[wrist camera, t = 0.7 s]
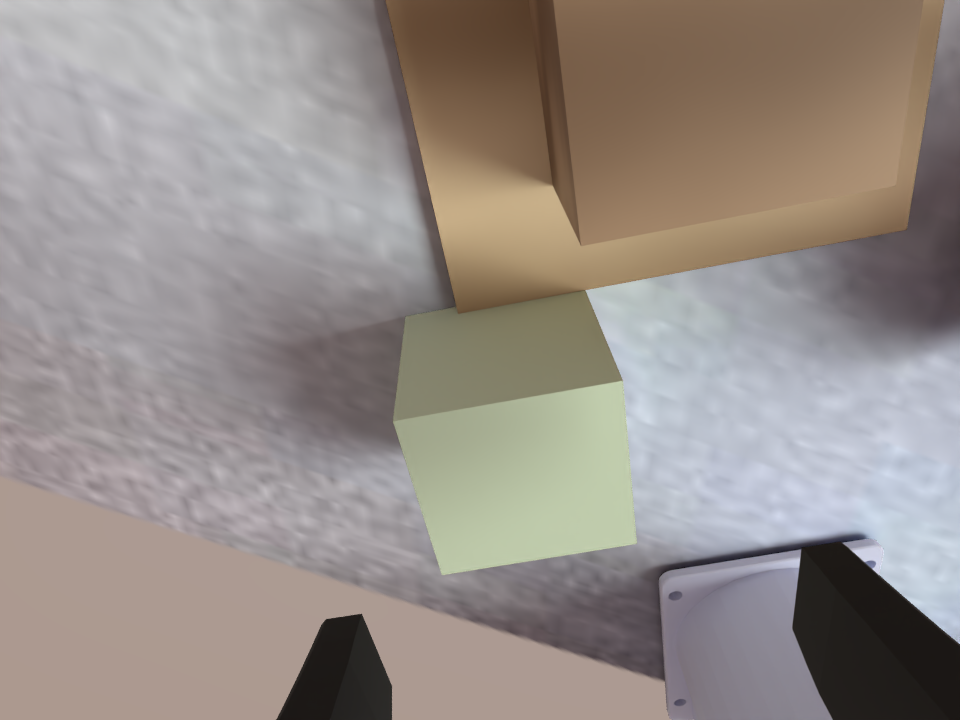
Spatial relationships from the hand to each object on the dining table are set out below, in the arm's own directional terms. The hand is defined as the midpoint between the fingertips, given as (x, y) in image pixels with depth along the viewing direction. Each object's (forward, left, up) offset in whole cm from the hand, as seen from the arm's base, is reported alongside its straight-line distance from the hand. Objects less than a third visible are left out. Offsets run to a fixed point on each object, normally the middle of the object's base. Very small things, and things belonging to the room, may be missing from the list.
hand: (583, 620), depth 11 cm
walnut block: (+7, -4, -9) cm, 12 cm away
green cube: (-1, +1, -10) cm, 10 cm away
